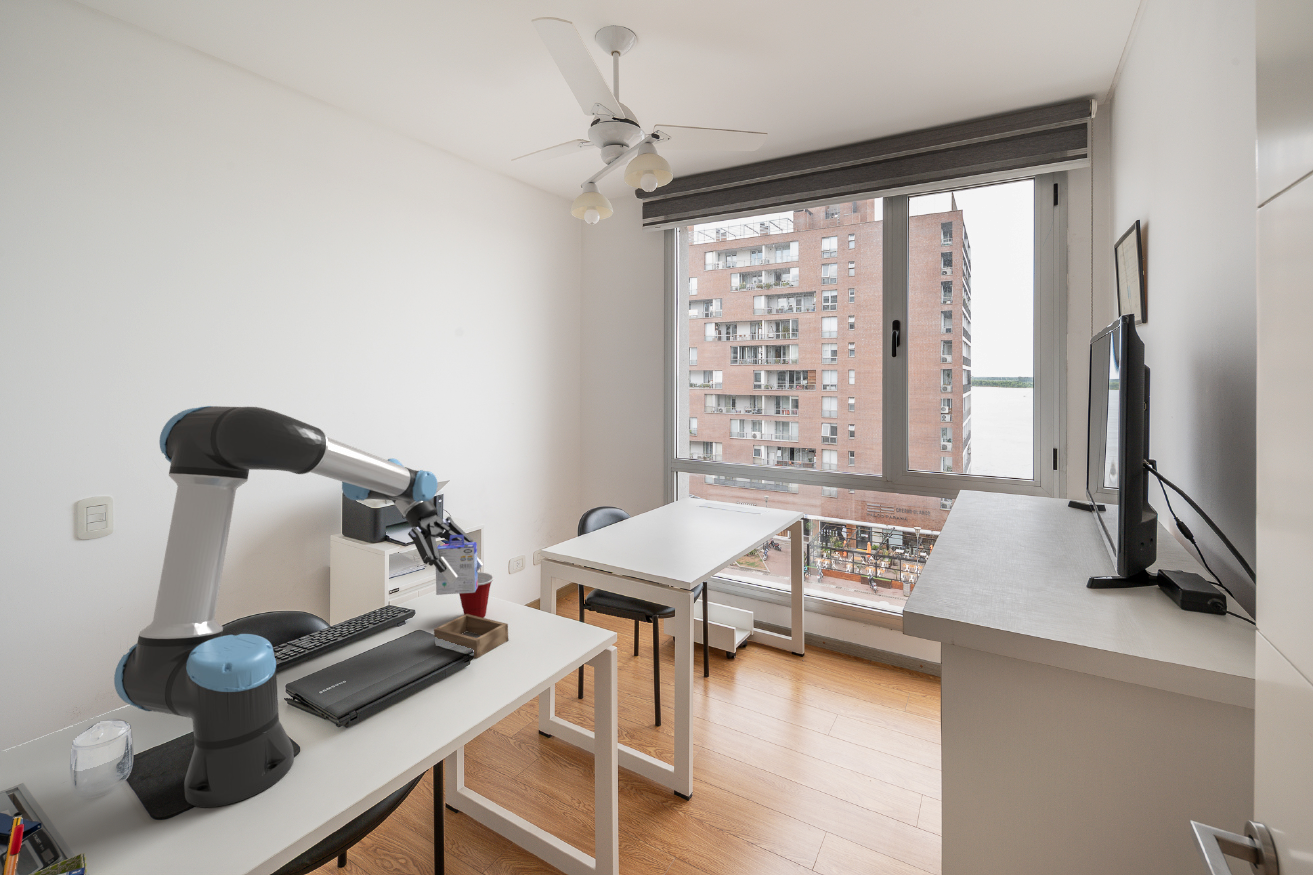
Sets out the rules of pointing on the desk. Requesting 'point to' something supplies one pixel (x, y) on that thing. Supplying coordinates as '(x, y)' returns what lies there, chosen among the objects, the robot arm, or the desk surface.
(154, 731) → the desk surface
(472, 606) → the plastic cup
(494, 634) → the open wooden box
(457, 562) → the ink cartridge box
